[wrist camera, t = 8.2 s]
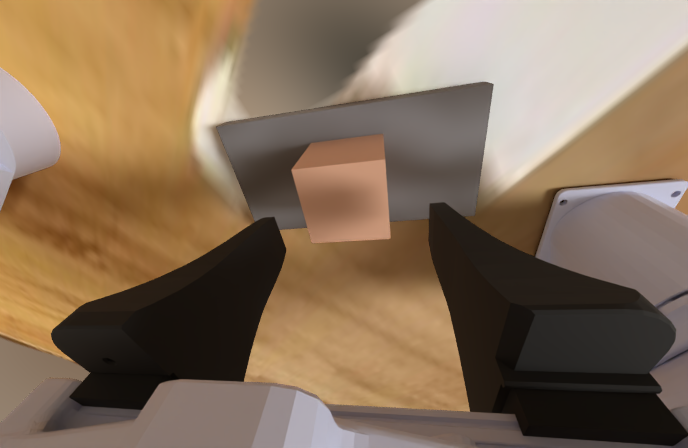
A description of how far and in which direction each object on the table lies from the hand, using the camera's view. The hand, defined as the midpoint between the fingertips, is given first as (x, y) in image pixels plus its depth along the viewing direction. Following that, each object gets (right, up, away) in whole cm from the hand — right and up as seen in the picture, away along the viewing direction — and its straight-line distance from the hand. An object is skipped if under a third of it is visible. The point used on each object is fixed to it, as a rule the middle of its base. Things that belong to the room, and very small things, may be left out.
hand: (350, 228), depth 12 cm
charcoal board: (0, +5, +8) cm, 9 cm away
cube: (0, +4, +7) cm, 8 cm away
